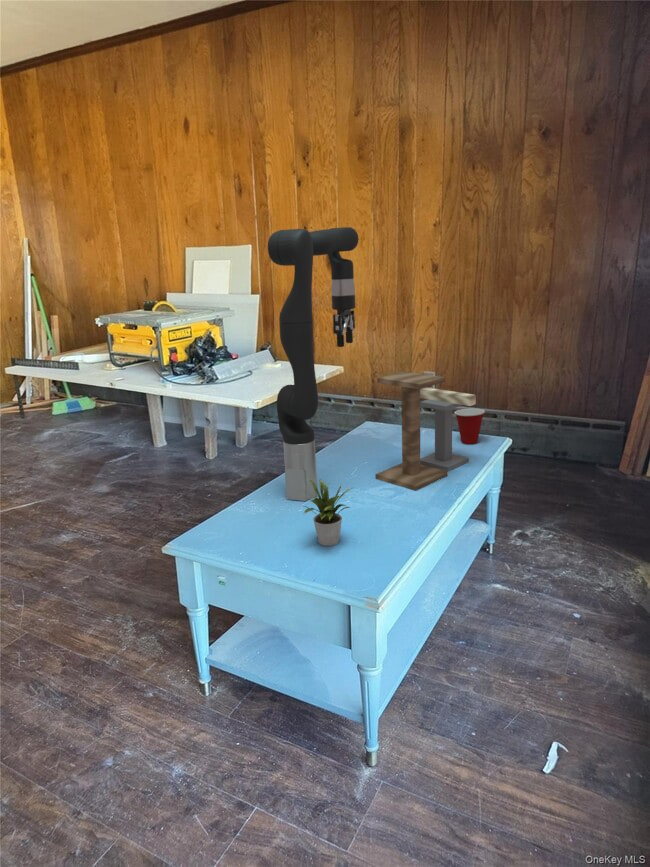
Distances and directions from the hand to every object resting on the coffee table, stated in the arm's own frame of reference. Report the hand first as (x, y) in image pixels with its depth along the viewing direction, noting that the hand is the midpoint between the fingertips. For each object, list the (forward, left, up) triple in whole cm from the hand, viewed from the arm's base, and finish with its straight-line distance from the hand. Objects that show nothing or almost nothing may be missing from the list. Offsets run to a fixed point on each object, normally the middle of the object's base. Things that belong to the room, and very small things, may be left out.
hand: (345, 344), depth 194 cm
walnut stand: (-10, -24, -40) cm, 48 cm away
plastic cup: (+30, -36, -40) cm, 62 cm away
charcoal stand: (+5, -31, -40) cm, 51 cm away
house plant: (-58, -13, -40) cm, 72 cm away
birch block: (+6, -30, -19) cm, 36 cm away
